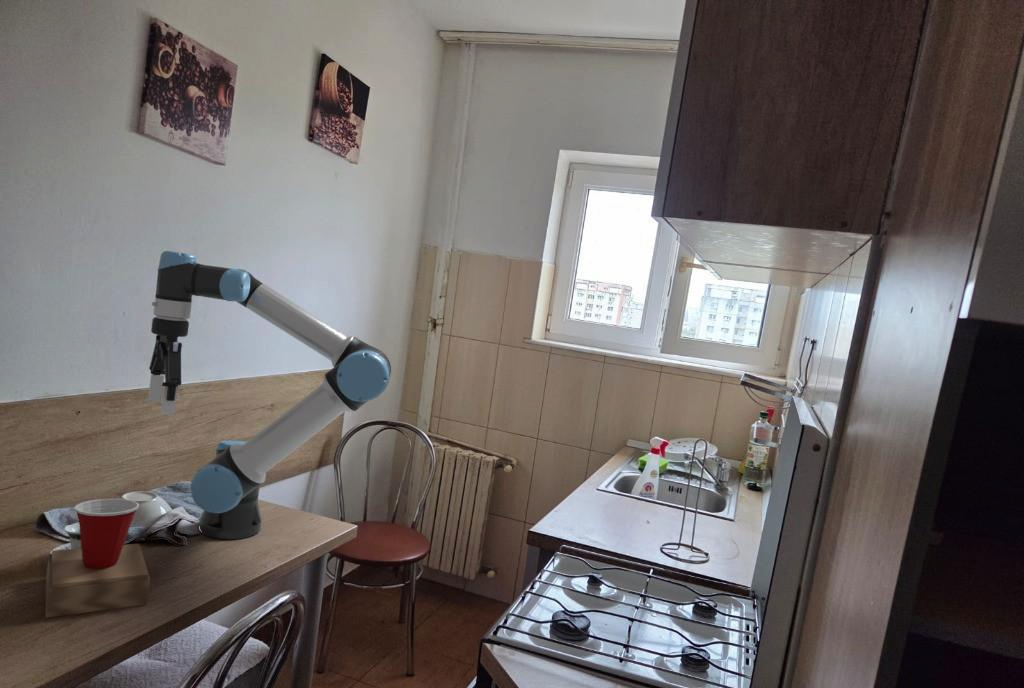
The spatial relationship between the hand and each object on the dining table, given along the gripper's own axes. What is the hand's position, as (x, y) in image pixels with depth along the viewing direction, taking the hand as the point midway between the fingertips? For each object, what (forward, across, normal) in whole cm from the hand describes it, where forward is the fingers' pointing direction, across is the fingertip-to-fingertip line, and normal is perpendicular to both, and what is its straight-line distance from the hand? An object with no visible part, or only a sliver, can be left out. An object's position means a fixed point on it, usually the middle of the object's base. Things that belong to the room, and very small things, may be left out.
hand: (160, 407), depth 148 cm
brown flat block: (+32, +22, -13) cm, 41 cm away
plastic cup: (+27, +22, -12) cm, 37 cm away
